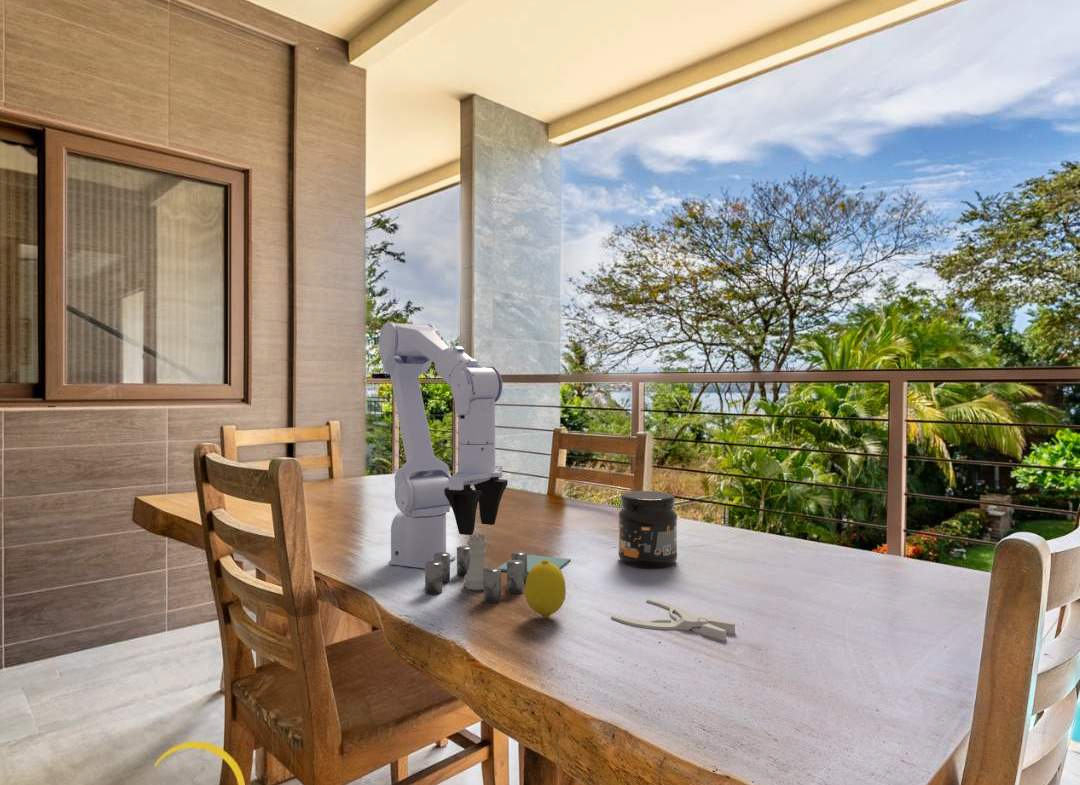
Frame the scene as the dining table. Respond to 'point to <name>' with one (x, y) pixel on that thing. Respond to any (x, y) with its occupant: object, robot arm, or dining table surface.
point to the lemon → (545, 588)
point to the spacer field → (516, 574)
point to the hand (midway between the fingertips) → (477, 529)
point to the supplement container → (647, 529)
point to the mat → (534, 560)
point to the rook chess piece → (476, 563)
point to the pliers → (684, 622)
